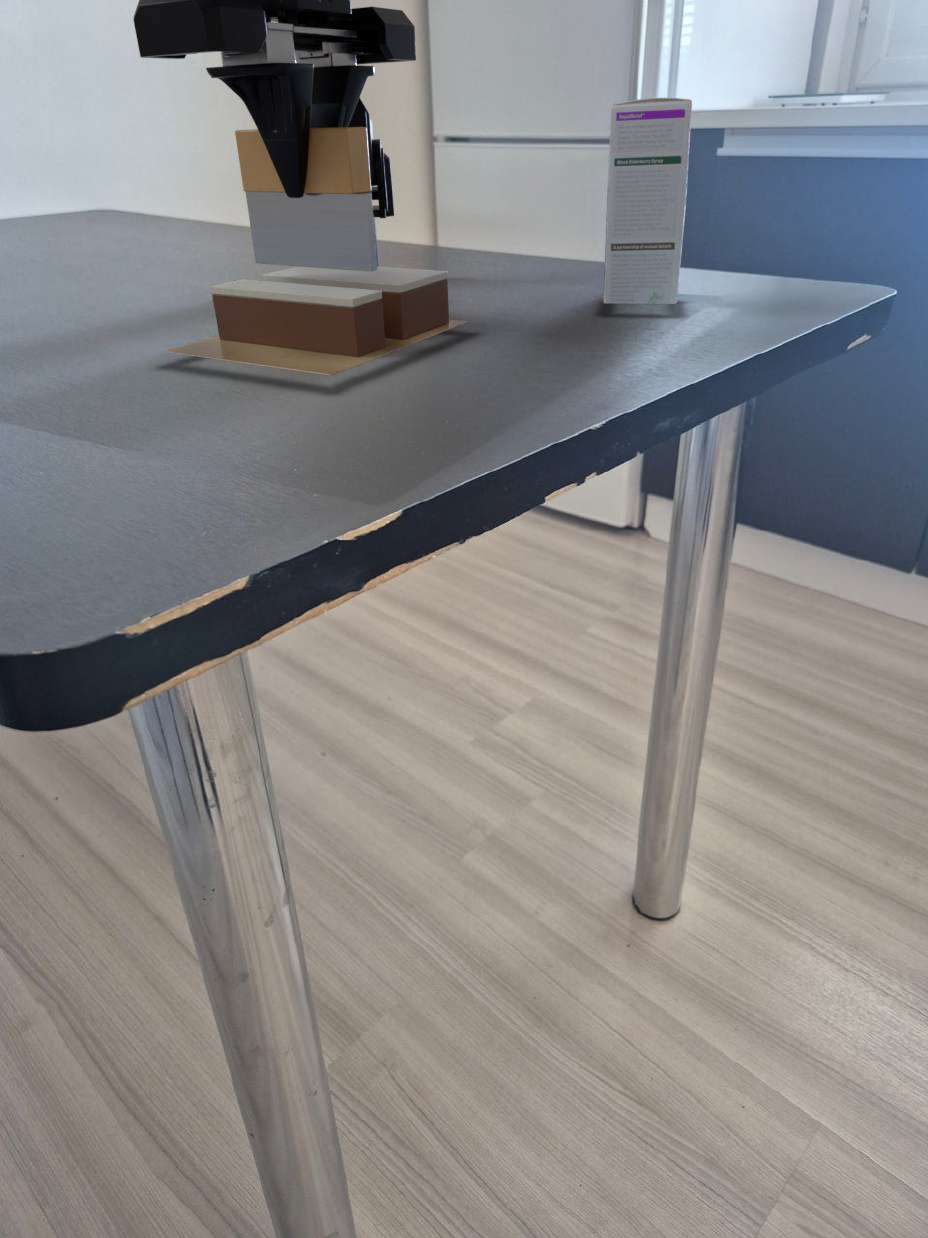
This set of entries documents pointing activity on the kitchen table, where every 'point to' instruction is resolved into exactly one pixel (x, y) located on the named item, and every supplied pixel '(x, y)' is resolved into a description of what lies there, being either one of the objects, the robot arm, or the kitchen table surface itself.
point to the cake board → (297, 353)
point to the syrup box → (646, 200)
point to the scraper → (312, 203)
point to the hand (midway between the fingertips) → (307, 195)
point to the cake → (386, 293)
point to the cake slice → (300, 316)
